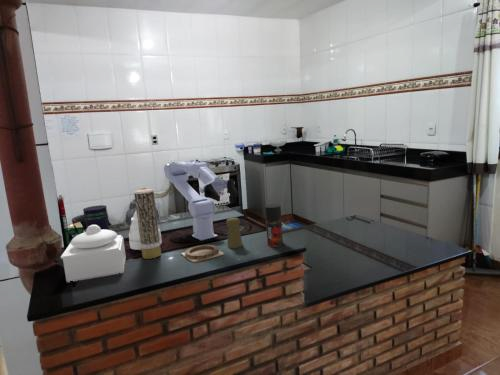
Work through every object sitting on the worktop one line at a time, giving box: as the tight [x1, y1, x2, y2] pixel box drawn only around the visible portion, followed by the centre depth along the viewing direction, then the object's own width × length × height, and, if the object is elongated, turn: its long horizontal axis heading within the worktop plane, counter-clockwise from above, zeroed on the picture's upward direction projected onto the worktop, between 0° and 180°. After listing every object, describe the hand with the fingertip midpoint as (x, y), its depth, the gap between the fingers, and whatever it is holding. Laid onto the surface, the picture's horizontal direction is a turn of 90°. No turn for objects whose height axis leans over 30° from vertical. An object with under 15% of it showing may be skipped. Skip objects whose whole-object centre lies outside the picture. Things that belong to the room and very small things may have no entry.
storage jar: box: [82, 205, 111, 230], centre depth 163 cm, size 10×10×15 cm
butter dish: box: [60, 225, 127, 283], centre depth 126 cm, size 18×18×16 cm
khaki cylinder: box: [225, 217, 244, 249], centre depth 140 cm, size 6×6×11 cm
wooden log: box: [133, 188, 162, 260], centre depth 134 cm, size 7×7×25 cm
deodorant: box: [264, 203, 284, 248], centre depth 137 cm, size 6×6×15 cm
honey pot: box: [128, 210, 163, 251], centre depth 150 cm, size 13×13×18 cm
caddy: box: [180, 244, 225, 264], centre depth 133 cm, size 12×12×2 cm
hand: (228, 197), depth 135 cm, fingers open, 7 cm apart
